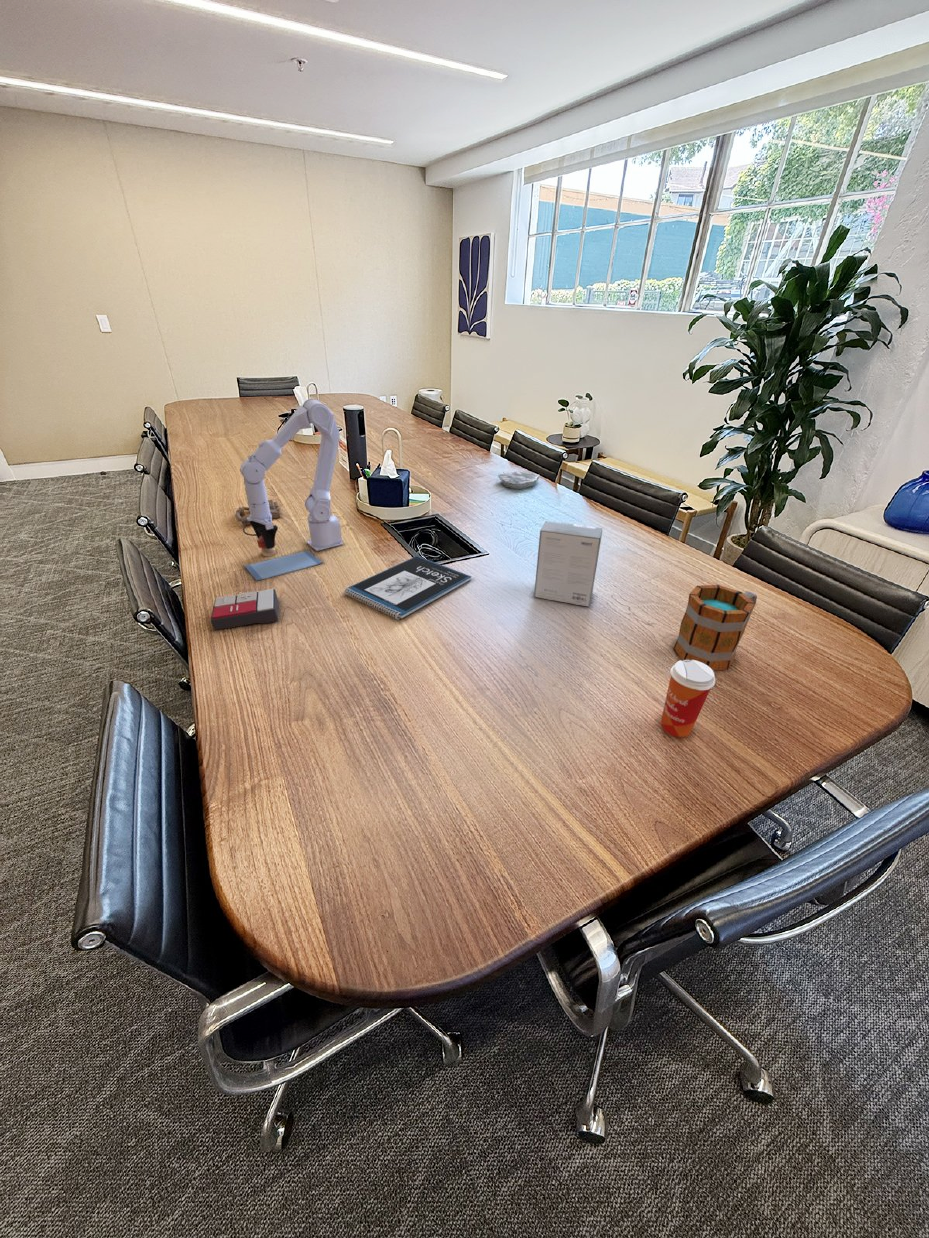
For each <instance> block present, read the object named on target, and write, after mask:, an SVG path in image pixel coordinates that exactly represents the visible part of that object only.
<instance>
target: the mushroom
mask: <svg viewBox="0 0 929 1238" xmlns="http://www.w3.org/2000/svg"><path fill="white" fill-rule="evenodd" d="M256 543H257V547H258V548H259V549H261V553H262V556H264V557H271V556H274V555H275V546H276V544H275V545H274V548H270V549H267V547H266V545H265V543H264V540H263V537H262V535H261V536H260V537H259V540H258V539H257V541H256Z"/></svg>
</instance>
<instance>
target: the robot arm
mask: <svg viewBox="0 0 929 1238" xmlns="http://www.w3.org/2000/svg"><path fill="white" fill-rule="evenodd" d="M311 424H312V425H313V426H314V427H315V428H316V430H317V431H318V433H319V434H320V435H321V438H320V443H319V448H318V449H319V450H318V455H317V460H316V467H315V472H314V478H313V484H312V487H311V488H310V490H309V494H308V496H307V497H306V499H305V501H304V507H305V509H306V511H307V512H309V513H308V517H307V524H308V530H309V535H310V540H308V541H306V543H307V545H308V546H309V547H311V548H312V549H313V550H315V551H317V552H319V551H323V550H326V549H331V548H334V547H338V546H342V545H344V542H343V538H342V527H341V523H340V521H339V518H338V517H337V516H336V515H332V508H331V501H332V499H331V493H330V491H331V487H332V486H331V485H332V480H333V474H334V471H335V464H336V459H337V453H338V448H339V444H340V437H341V433H340V430H339V427H338V425H337V422H336V419H335V414H334V413H333V412H332V411H331V410H330V408H329V407H328V406H327V405H325V404H323V403H321V402H320V400H318V399H317V398H308V399H306V400H304V402H303V403H302V405H300V406H299V407H297V409H296V410H295V411H294V413H292V415H291V416H290V417H289V418H288V419H287V421H286V422H285V423H284V425H283V426H282V427H281V428H280V429H279V431H277V433H276V434H275V435H274V436H273V438H271V439H265V440H264V441H259V443H258V444H257V445H258V447H257V449H255V450H254V452H253V453H252V454H249V455H248V456H247V459H245V460H243V461H242V463H241V464H240V467H239V472H240V474H241V476H242V477H243V485H244V491H245V495H246V496H245V497H246V500H247V505H248V506H247V507H249V510H250V511H249V510H248V511H249V514H250V515H249V516H250V517H247V520H248V521H249V522H250V524H251V525H250V526H251V527H252V529H253V531H254V533H255V534H256V536H255V537H256V538H257V541H258V540H259V537H260V536H261V535H262V537H263V540H264V543H265V545H266V547H267V549H270V548H274V549H275V546H276V535H277V531H278V529H279V527H278V525H276V524H273V518H272V515H271V513H270V508H269V503H268V500H269V498H268V493H267V487H266V485H265V481H264V480H265V476H266V472H267V471H269V469H270V468H271V467H272V466H273V465H274V464H275V463H276V462H277V461H278V459H280V457H281V456H282V450H283V448H284V446H285V445H287V443H289V442H290V440H291V439H292V438H293V437H295V436H296V435H297V434H298V433H299V432H300V431H301V430H304V429H313V426H312V425H311ZM274 545H275V546H274Z"/></svg>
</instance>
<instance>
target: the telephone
mask: <svg viewBox="0 0 929 1238" xmlns="http://www.w3.org/2000/svg"><path fill="white" fill-rule="evenodd" d="M268 503H269V508H270V513H271V515H272V519H279V518H281V511H280V507H279V504H278V502H277V501H274V500H272V499H268ZM245 511H248V512H250V510H249V506H241V507H238V509H237V510H236V511H235V517H236V520H237V521H239V522H240V523H241V524H242V525H243V526H242V533H243V534H245V535H247V536H249V537H250V536H251V537H257V536H256V533H255V534H252V533H248V532H246V531H245V529H246V526H252V525H251V524H250V522H249V521H248V520H247V517H250V515H249V514H246V512H245Z"/></svg>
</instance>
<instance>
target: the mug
mask: <svg viewBox="0 0 929 1238" xmlns="http://www.w3.org/2000/svg"><path fill="white" fill-rule="evenodd" d="M757 599H758V595H757V594H756V593H754V592H752V591H747V590H746V591H745V592H742V591H740V590H737V589H734V588H730V587H726V586H723V585H720V584H705V585H701V584H700V585H695V587H694V588H693V589H692V590H691V591H690V593H688V600H687V605H686V609H685V612H684V615H683V617H682V619H681V622H680V625H679V632H678V636H677V638H676V642H675V644H674V646H673V648H672V649H673V651H674V652H675V653H676V655H677V656H678V657H679V658H680V660H681V661H683V660H690V661H691V660H696V661H699V662H702V663H704V664H706V665H707V666H709V667H710V668H711V669H712V670H713V671H727V670H730V667H731V665H732V663H733V662H734V660H735V657H736V653H737V652H736V651H737V649H738V646H739V643H740V641H741V640H742V637H743V635H744V633H745V630H746V628H747V625H748V623H749V620H750V618H751V615H752V612H753V611H754V608H755V606H756V605H757Z"/></svg>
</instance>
